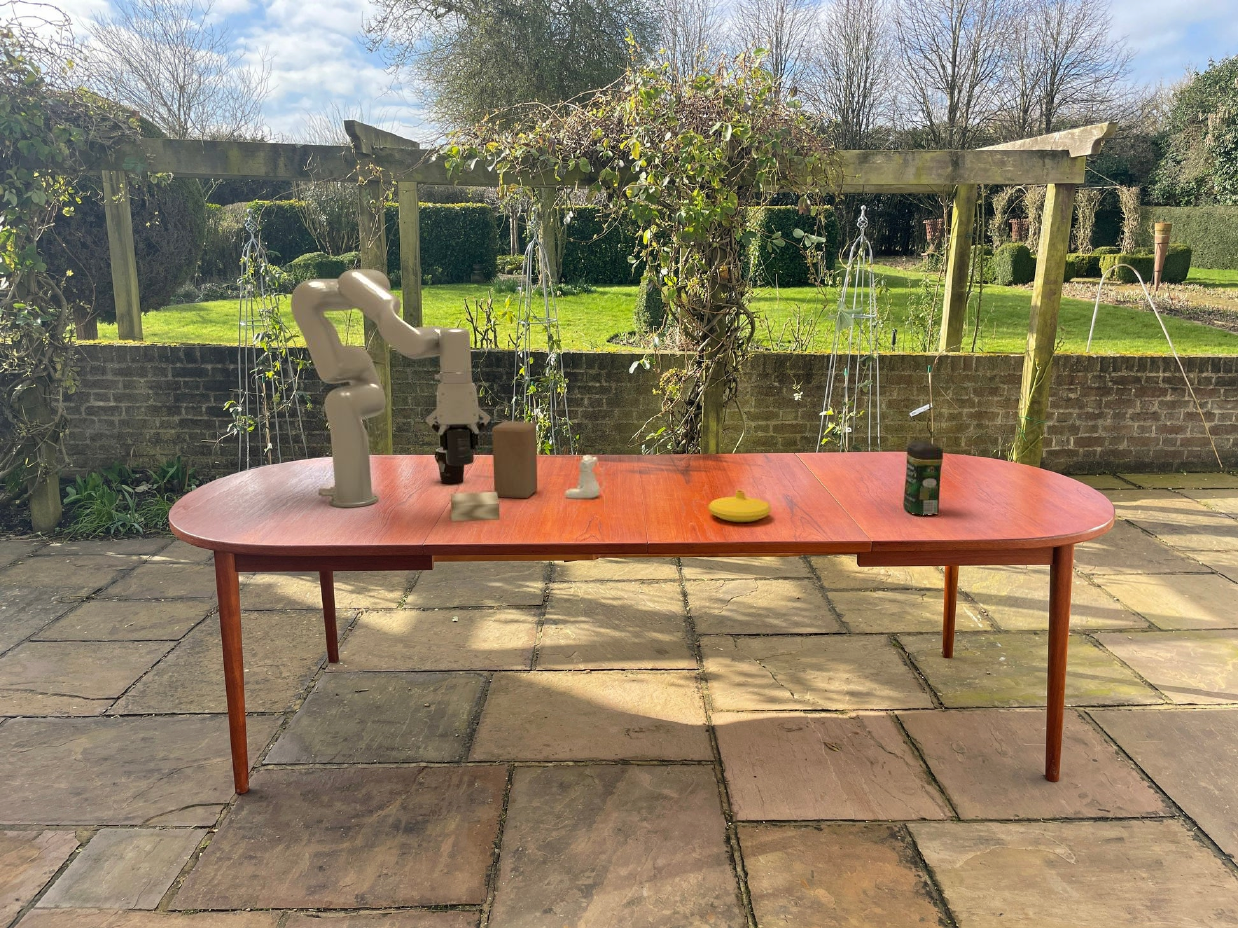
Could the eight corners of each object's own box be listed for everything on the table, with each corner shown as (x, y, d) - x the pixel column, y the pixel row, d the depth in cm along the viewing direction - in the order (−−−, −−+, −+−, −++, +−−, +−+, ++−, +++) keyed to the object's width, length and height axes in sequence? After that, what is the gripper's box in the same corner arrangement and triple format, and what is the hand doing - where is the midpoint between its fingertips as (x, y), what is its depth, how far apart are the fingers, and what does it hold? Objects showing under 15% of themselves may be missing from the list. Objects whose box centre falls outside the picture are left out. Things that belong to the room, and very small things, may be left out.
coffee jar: (898, 507, 228) (903, 438, 224) (928, 506, 228) (933, 438, 224) (911, 517, 219) (917, 446, 214) (942, 517, 219) (948, 445, 215)
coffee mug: (469, 484, 253) (468, 451, 251) (440, 487, 250) (438, 453, 248) (461, 475, 264) (460, 443, 261) (433, 478, 261) (431, 446, 258)
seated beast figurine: (582, 490, 246) (582, 449, 243) (608, 494, 241) (607, 452, 239) (563, 498, 238) (563, 455, 235) (589, 502, 234) (589, 459, 231)
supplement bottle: (475, 460, 220) (474, 414, 217) (471, 466, 213) (469, 418, 211) (449, 460, 220) (447, 414, 217) (443, 466, 213) (441, 418, 211)
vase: (722, 529, 209) (723, 501, 207) (698, 512, 224) (699, 486, 222) (781, 524, 213) (782, 496, 212) (754, 507, 228) (755, 482, 226)
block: (527, 499, 236) (526, 428, 232) (493, 497, 238) (490, 426, 234) (538, 490, 246) (536, 421, 241) (505, 488, 248) (503, 420, 243)
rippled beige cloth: (451, 521, 216) (450, 505, 215) (451, 508, 227) (450, 494, 226) (499, 518, 218) (499, 503, 217) (497, 506, 229) (496, 491, 228)
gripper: (419, 381, 207) (423, 453, 211) (491, 379, 210) (494, 450, 213) (421, 377, 214) (425, 447, 218) (491, 375, 217) (494, 445, 221)
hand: (459, 448), depth 216 cm, fingers closed on supplement bottle, 6 cm apart
